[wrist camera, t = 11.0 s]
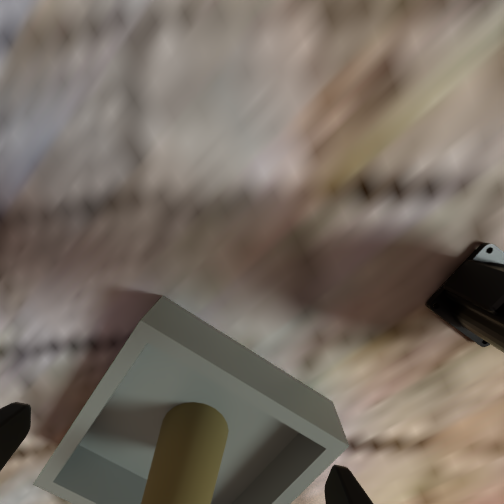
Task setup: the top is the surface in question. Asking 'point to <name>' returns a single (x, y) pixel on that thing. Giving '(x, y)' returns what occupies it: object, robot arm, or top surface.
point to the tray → (201, 391)
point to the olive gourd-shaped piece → (187, 456)
